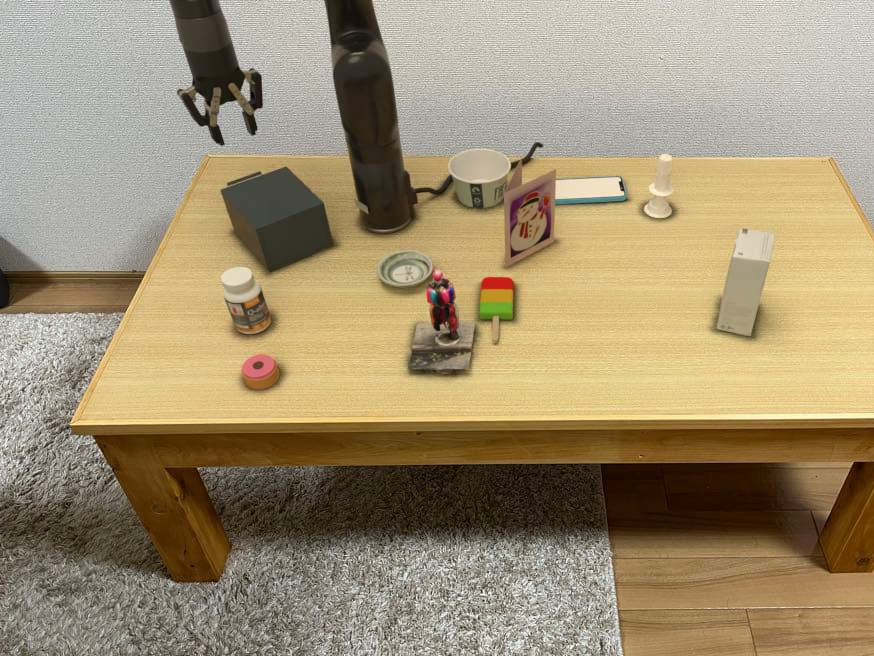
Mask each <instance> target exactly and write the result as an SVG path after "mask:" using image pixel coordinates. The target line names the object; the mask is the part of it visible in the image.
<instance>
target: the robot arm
mask: <svg viewBox="0 0 874 656" xmlns="http://www.w3.org/2000/svg"><path fill="white" fill-rule="evenodd" d="M168 1H169V5H170V7H171V11H172V14H173V17H174V21H175V28H176V32H177V34H178V40H179V42H180V44H181V47H182V50H183V52H184V55H185V58H186V62H187V65H188V67H189V70H190V73H191V76H192V82H191V85H190V86H189V87H187V88H186V89H183V88H179V89H177V91H176V94H177V96H178V97H179V99H180V100H181V102H182V104H183V105H184V107H185V108H186V110H187V112H188V113H189V116H190V117H191V118H192V120H193V121H194V122H195V123H196V124H197V125H198V126H199V127H201V128H202V127H206V126H207V128H208V132H209V135H210V137H211V139H212V140H213V141H214V143H215V144H217V145H219V146H220V147H223V146H225V145H226V143H225V140H224V136H223V133H222V130H221V128H220V125H219V124H218V118H219V117H218V115H219V114H220V107H221V106H223V105H225V104H226V103H233V102H236V103H237V104H238V106H240V108H241V109H242V111H241V114H242V118H243V121H244V124H245V129H246V131H247V133H248V134H249V135H250V136H251V137H253V136H256V135H257V131H258V123H257V121H256V117H255V112H256V111H257V110H258V109H260V110H261V109H262V108H263V107H264V100H263V99H264V97H263V76H262V74H261V73H260V72H259V71H257V70H256V69H255V68H253V67H251V68H249V69H248V70H242V69H241V67H240V65H239V64H240V63H239V61H238V57H237V54H236V50H235V47H234V42H233V39H232V36H231V32H230V29H229V26H228V25H229V24H228V22H227V19H226V17H225V14H224V12H223V9H222V7H221V3H220V0H168ZM323 3H324V6H325V13H326V19H327V25H328V32H329V42H330V59H331V61H330V62H331V72H332V81H333V86H334V92H335V97H336V101H337V107H338V112H339V116H340V122H341V127H342V130H343V133H344V138H345V143H346V149H347V153H348V159H349V163H350V169H351V175H352V179H353V185H354V189H355V190H354V191H355V195H356V198H355V199H354V202H355V207H356V208H358V211H359V216H360V217H359V219H360V224H361V225H362V227H363V228H364V229H366V230H367V231H369V232H372V233H375V234H391V233H395V232H399V231H401V230H403V229H405V228H406V227H407V226H408V225H409V224H410V223H411V220H413V219H415V218H416V214H415V205H418V204H419V199H418V194H425V193H428V194H432V195H435V196H437V195H441V194H443V193H444V192H445V191H446V190H447V188H448V186H449V185H450V184H451V182H452V181H453V178H452V175H451V174H449V176H448V177H447V178H446V179H445V180H444V182H443V184H442V185H441V187H440V188H437V189H434V188H432V187H428V186H426V187H424V186H423V187H417V188H414V187H413V186H412V183H411V182H412V181H411V175H410V173H409V172H408V170H406V169H405V164H404V158H403V150H402V149H403V148H402V143H401V142H402V141H401V136H400V127H399V115H398V107H397V99H396V93H395V85H394V78H393V72H392V68H391V67H392V66H391V63H390V58H389V54H388V50H387V48H386V45H385V43H384V39H383V36H382V32H381V29H380V26H379V22H378V18H377V14H376V10H375V6H374V2H373V0H323ZM245 81H246V83H247V84H248V85H249V100H247V98H246V97H245V96H244V94H243V93H242V92H241V91H242V88H243V85H244V83H245ZM196 94H199V95H200V96H201V97H202V98H203V108H204V114H201V112H200V110H199V108H198V107H197V106H196V104H195V103H196V102H197V98H196ZM543 147H544V145H543V143H541V142H540V141H537V142H534V143H533V145H532V146H531V148H530V149H529V152H527V154H526V155H525V156H524V157H522V165H523V164H525V163H527V162H528V161H529V160H530V159H531V158H532V156H533V155H534V154H535V152H536V150H537V148H539V149H541V148H543ZM520 160H521V159H518V160H515V161H512V162H511V161H510V163H511V168H515V167H517V166H518V164H519V162H520Z"/></svg>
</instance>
